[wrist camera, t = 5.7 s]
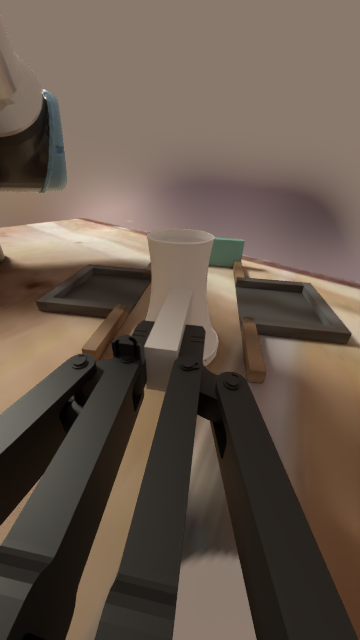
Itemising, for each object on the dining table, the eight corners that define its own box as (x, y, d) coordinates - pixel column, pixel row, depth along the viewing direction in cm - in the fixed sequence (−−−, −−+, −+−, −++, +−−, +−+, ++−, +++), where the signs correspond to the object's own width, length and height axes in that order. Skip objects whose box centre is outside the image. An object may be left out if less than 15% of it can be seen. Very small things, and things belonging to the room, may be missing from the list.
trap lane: (387, 399, 17) (396, 388, 17) (-11, 347, 21) (-17, 336, 20) (293, 271, 40) (295, 265, 39) (109, 257, 44) (109, 250, 43)
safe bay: (239, 267, 41) (244, 241, 39) (157, 261, 43) (156, 235, 40) (239, 265, 42) (243, 239, 40) (158, 259, 44) (158, 233, 41)
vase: (197, 386, 18) (211, 257, 13) (119, 354, 21) (103, 237, 15) (227, 336, 24) (245, 232, 18) (163, 316, 26) (162, 221, 21)
